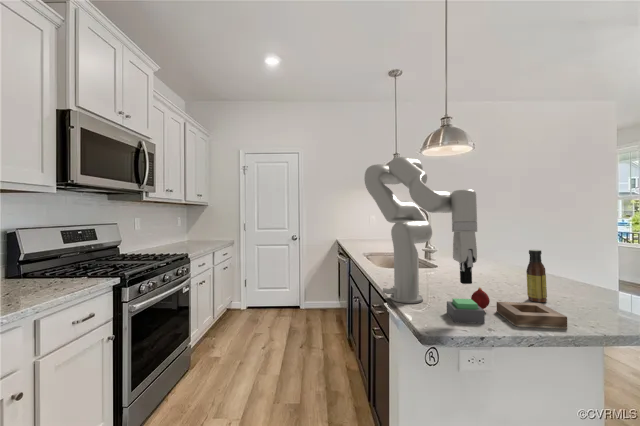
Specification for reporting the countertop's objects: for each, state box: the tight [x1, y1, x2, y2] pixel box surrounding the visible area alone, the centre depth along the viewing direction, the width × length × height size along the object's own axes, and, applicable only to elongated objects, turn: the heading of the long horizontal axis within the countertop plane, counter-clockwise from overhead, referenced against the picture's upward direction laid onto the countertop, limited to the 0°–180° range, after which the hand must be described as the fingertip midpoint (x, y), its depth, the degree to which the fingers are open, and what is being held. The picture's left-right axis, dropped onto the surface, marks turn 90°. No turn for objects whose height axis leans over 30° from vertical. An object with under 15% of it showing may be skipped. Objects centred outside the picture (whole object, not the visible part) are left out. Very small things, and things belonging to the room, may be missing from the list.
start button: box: [451, 297, 478, 309], centre depth 100 cm, size 6×6×3 cm
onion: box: [470, 287, 491, 310], centre depth 108 cm, size 6×6×8 cm
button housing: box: [446, 300, 486, 324], centre depth 100 cm, size 9×9×4 cm
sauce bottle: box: [526, 249, 548, 303], centre depth 119 cm, size 6×6×20 cm
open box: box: [496, 301, 568, 330], centre depth 99 cm, size 14×14×4 cm
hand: (466, 283), depth 100 cm, fingers closed
